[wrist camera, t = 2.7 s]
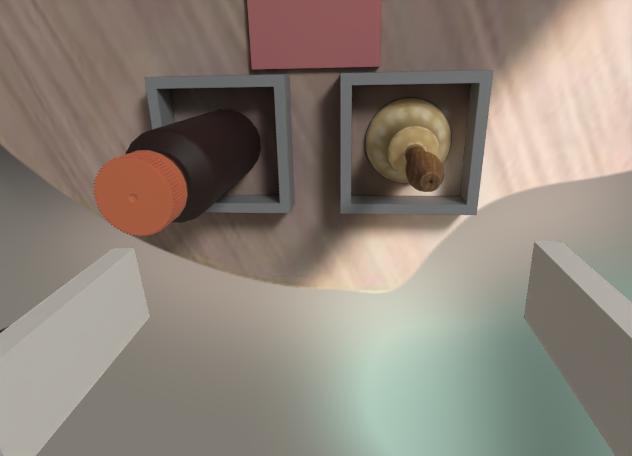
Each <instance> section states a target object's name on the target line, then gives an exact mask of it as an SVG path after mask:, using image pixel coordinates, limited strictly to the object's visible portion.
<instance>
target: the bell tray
mask: <svg viewBox="0 0 632 456" xmlns="http://www.w3.org/2000/svg"><path fill="white" fill-rule="evenodd" d="M492 77H493V70H468V71H420V72H372V73H341V214H424V215H476V214H477V206H478V198H479V189H480V180H481V172H482V163H483V155H484V146H485V138H486V129H487V120H488V112H489V103H490V95H491V86H492ZM445 83H471V89H470V99H469V109H468V119H467V129H466V139H465V149H464V159H463V169H462V179H461V189H460V196H351V166H352V85H390V84H445Z"/></svg>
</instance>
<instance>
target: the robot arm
mask: <svg viewBox="0 0 632 456" xmlns="http://www.w3.org/2000/svg"><path fill="white" fill-rule="evenodd" d="M149 317H150V316H149V312H148V307H147V303H146V298H145V294H144V289H143V285H142V280H141V276H140V271H139V267H138V263H137V258H136V254H135V249H134V248H113V249H111V250H110V251H109V252H107V253H106V254H105V255H104V256H102V257H101V258H99V259H98V260H97V261H95V262H94V263H93V264H92V265H90V266H89V267H87V268H86V269H85V270H83V271H82V272H81V273H79V274H78V275H77V276H75V277H74V278H73V279H72V280H70V281H69V282H68V283H66V284H65V285H63V286H62V287H61V288H59V289H58V290H57V291H55V292H54V293H53V294H51V295H50V296H49V297H48V298H46V299H45V300H44V301H42V302H41V303H40V304H38V305H37V306H36V307H34V308H33V309H32V310H30V311H29V312H28V313H26V314H25V315H24V316H22V317H21V318H20V319H18V320H17V321H16V322H14V323H13V324H12V325H10V326H8V327H6V328H4V329H2V330H0V456H36V454H37V453H38V452H39V451H40V449H41V448H42V447H43V446H44V445H45V444H46V442H47V441H48V440H49V439H50V437H51V436H52V435H53V434H54V433H55V431H56V430H57V429H58V428H59V426H60V425H61V424H62V423H63V422H64V420H65V419H66V418H67V417H68V416H69V414H70V413H71V412H72V410H73V409H74V408H75V407H76V406H77V405H78V403H79V402H80V401H81V400H82V399H83V397H84V396H85V395H86V394H87V392H88V391H89V390H90V389H91V388H92V386H93V385H94V384H95V383H96V382H97V380H98V379H99V378H100V377H101V375H102V374H103V373H104V372H105V371H106V369H107V368H108V367H109V366H110V365H111V363H112V362H113V361H114V360H115V358H116V357H117V356H118V355H119V354H120V352H121V351H122V350H123V349H124V347H125V346H126V345H127V344H128V343H129V341H130V340H131V339H132V338H133V337H134V335H135V334H136V333H137V332H138V330H139V329H140V328H141V327H142V325H143V324H144V323H145V322H146V321H147V319H148V318H149ZM524 318H525V320H526V321H527V323H528V324H529V326H530V327H531V329H532V330H533V332H534V333H535V335H536V336H537V338H538V339H539V341H540V342H541V344H542V345H543V347H544V348H545V350H546V351H547V353H548V355H549V356H550V357H551V359H552V361H553V362H554V363H555V365H556V366H557V368H558V370H559V371H560V373H561V374H562V376H563V377H564V379H565V380H566V382H567V383H568V385H569V386H570V388H571V389H572V391H573V392H574V394H575V395H576V397H577V398H578V400H579V401H580V403H581V404H582V406H583V407H584V409H585V411H586V412H587V414H588V415H589V417H590V418H591V420H592V421H593V423H594V424H595V426H596V427H597V429H598V430H599V432H600V433H601V435H602V436H603V438H604V439H605V441H606V442H607V444H608V445H609V447H610V448H611V450H612V451H613V453H614V454H615V456H632V303H631V302H630V301H629V300H628V299H626V298H625V297H624V296H623V295H622V294H621V293H620V292H618V291H617V290H616V289H615V288H614V287H612V285H610V284H609V283H608V282H607V281H606V280H605V279H603V278H602V277H601V276H600V275H599V274H598V273H596V272H595V271H594V270H593V269H592V268H591V267H590V266H588V265H587V264H586V263H585V262H584V261H583V260H581V259H580V258H579V257H578V256H577V255H576V254H575V253H573V252H572V251H571V250H570V249H569V248H568V247H567V246H565V245H564V244H563V243H562V242H561V241H535V242H534V248H533V255H532V262H531V270H530V278H529V285H528V293H527V299H526V307H525V314H524Z"/></svg>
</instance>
